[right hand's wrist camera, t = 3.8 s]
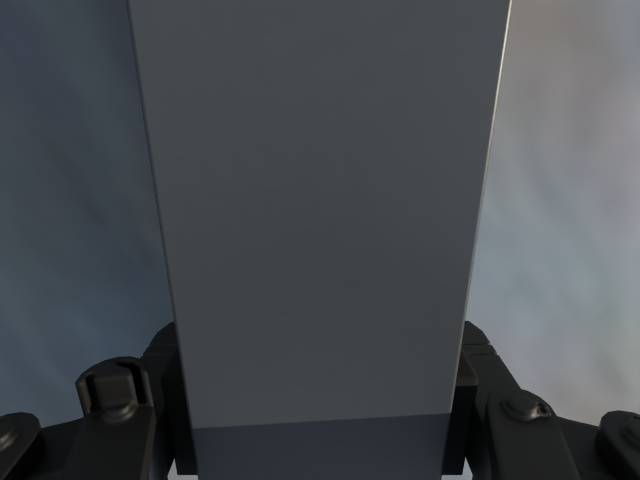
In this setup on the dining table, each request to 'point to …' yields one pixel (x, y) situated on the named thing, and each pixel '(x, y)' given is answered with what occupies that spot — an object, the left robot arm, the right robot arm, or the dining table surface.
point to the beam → (319, 221)
